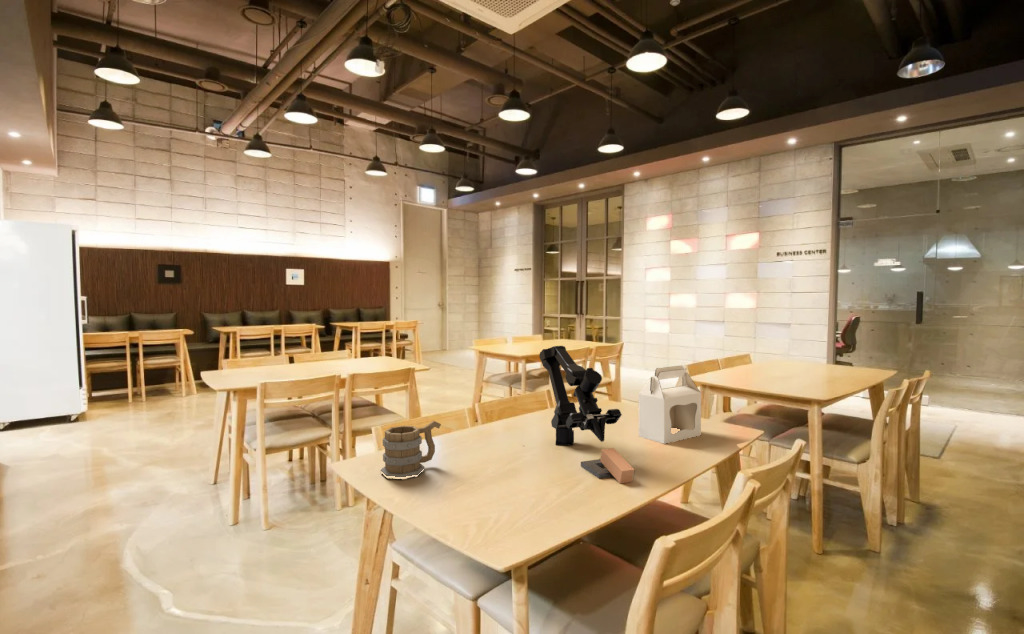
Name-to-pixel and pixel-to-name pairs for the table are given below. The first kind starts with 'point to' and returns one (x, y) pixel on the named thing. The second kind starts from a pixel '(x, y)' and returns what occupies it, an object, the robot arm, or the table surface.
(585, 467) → the plate
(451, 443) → the table surface
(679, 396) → the gable box
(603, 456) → the block
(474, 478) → the table surface
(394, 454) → the tankard
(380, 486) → the table surface
